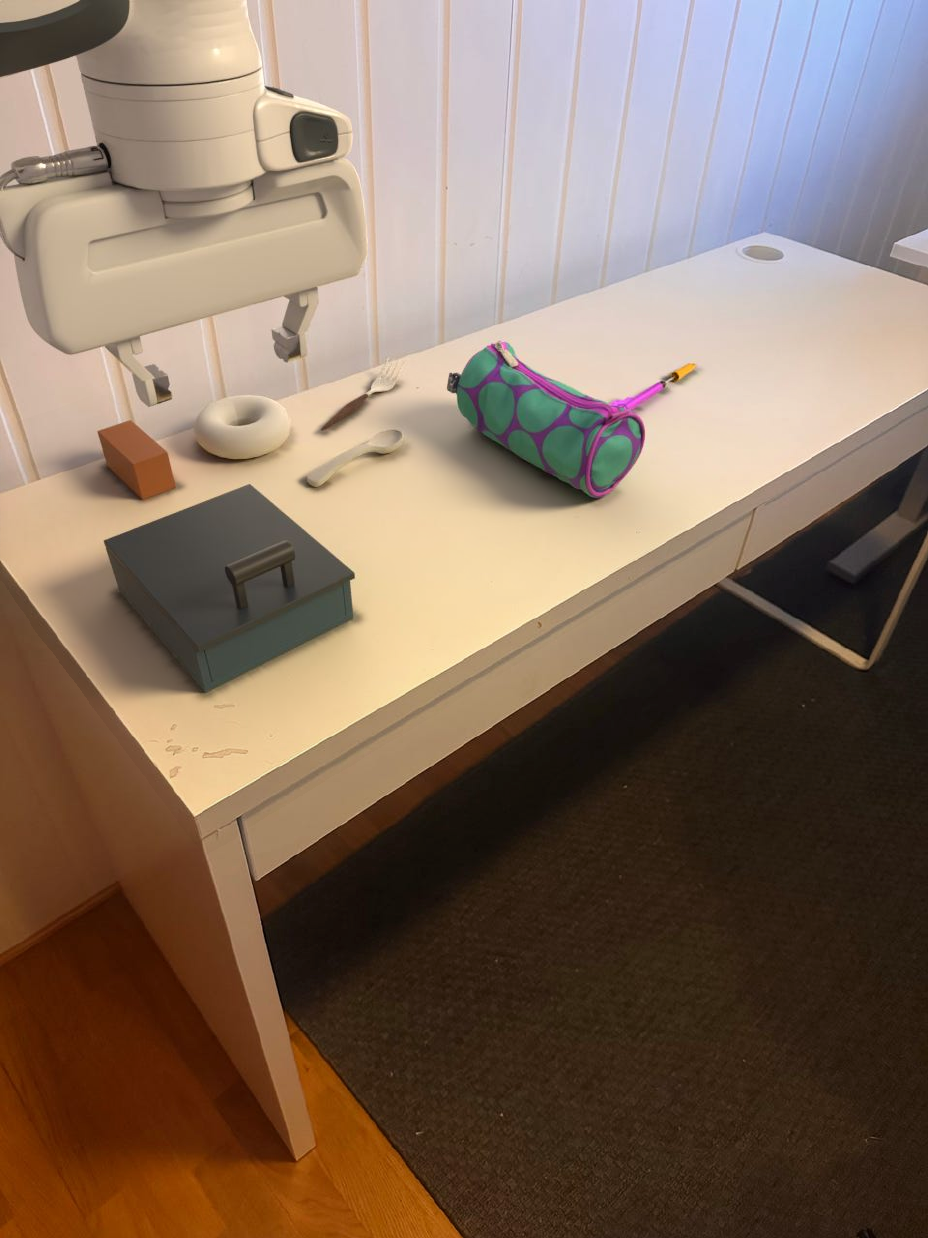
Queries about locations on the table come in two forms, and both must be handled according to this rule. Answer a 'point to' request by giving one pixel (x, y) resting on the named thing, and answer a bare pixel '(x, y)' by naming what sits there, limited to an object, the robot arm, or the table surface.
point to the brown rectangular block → (137, 459)
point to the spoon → (378, 443)
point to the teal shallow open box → (245, 646)
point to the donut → (242, 426)
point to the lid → (227, 565)
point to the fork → (367, 394)
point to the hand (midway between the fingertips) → (226, 377)
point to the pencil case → (548, 421)
